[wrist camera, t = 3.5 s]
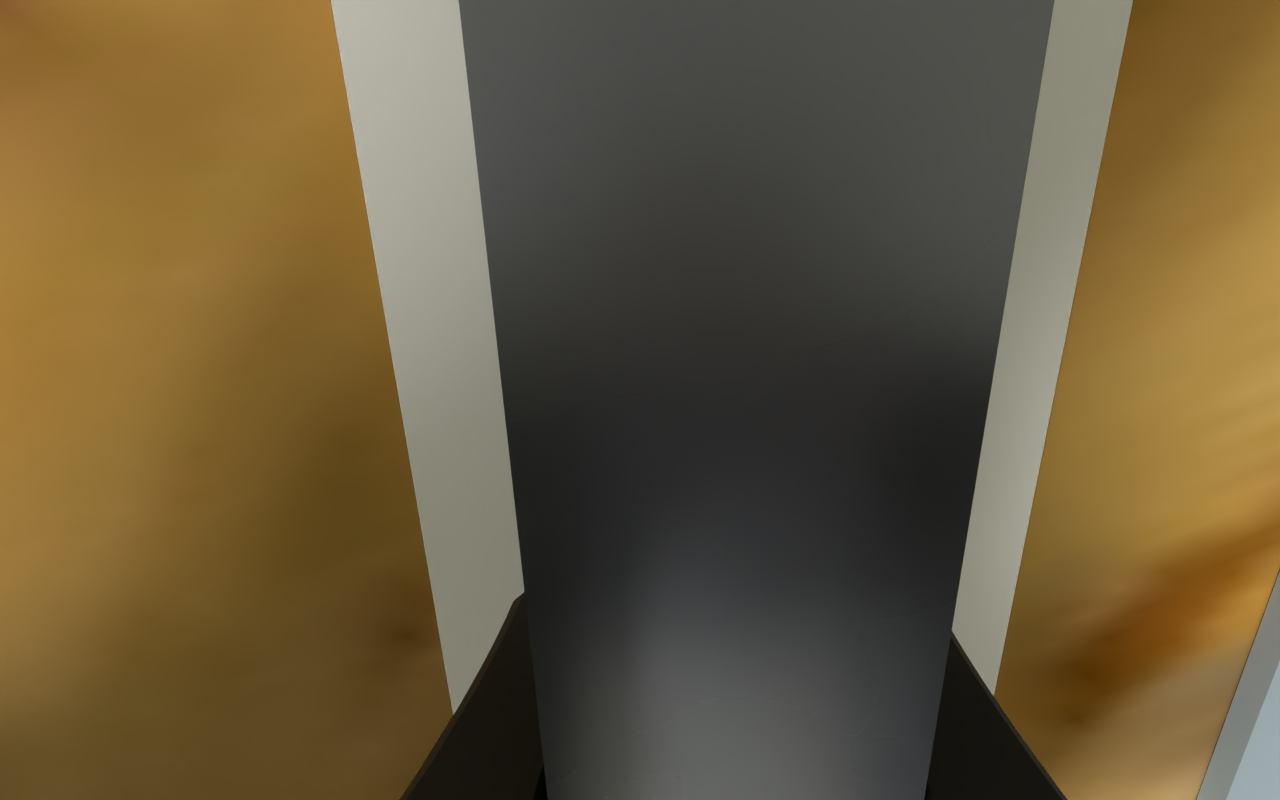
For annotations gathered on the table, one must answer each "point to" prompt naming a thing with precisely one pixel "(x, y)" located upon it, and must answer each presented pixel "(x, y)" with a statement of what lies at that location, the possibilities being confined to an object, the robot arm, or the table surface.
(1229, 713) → the mat
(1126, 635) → the table surface
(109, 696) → the table surface
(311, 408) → the table surface
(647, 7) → the rail
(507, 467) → the hook stands
